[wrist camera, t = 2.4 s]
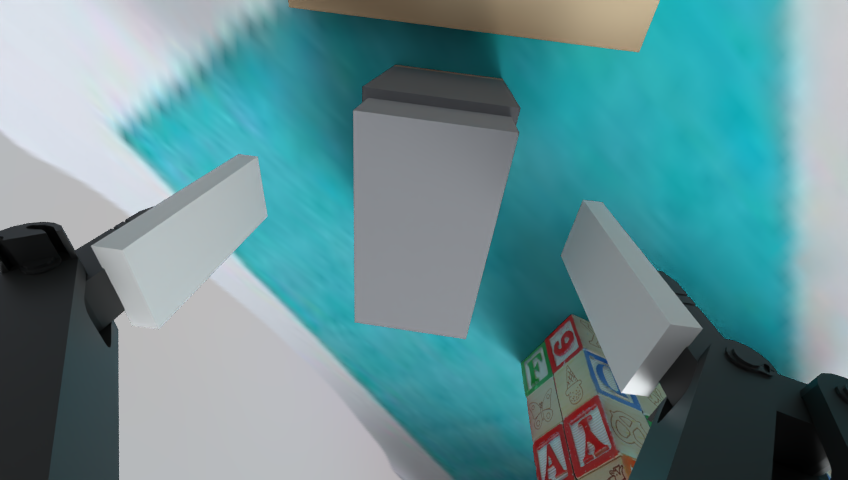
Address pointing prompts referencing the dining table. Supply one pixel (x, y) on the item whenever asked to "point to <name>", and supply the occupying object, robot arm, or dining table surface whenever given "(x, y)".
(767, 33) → the dining table surface
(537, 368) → the stack of blocks
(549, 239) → the dining table surface
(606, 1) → the plank
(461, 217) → the block
